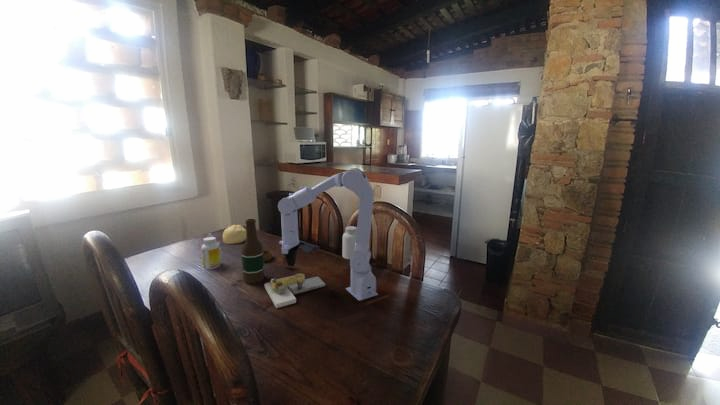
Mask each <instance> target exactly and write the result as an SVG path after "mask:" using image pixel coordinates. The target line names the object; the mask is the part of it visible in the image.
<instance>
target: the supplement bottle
mask: <svg viewBox="0 0 720 405" xmlns="http://www.w3.org/2000/svg"><path fill="white" fill-rule="evenodd" d="M206 237H207V236H206ZM206 237H205V238H204V237H203V238H204V239H203V242H204V245H202V247H201V257H202V258H201V259H202V266H203V269H204V270H214V269H216V268H219V267H220V266H221V264H222V262H221V253H220V252H221V251H220V250H219V247H220V244H218V243H216V241H217V238H216V237H215V236H213V237H207V238H206Z"/></svg>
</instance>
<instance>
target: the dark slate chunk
mask: <svg viewBox="0 0 720 405" xmlns="http://www.w3.org/2000/svg"><path fill="white" fill-rule="evenodd" d="M300 244H301V245H302V246H300V247H299V248H302V250H301V251H303V250H304V251H303V252H304V253H307V254H310V253H314V252H315V251H316V250H315V249H318V250H319V249H321V247H320V246H318V245H315V244H312V243H309V242H306V241H303V240H301V239H299V244H298V245H300ZM314 250H315V251H314Z"/></svg>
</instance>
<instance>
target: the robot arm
mask: <svg viewBox="0 0 720 405" xmlns="http://www.w3.org/2000/svg"><path fill="white" fill-rule="evenodd" d="M364 172H365V171H363V170H362V169H360V168H357V167H353V168H350V169H347V170H345V171H341V172H339V173H336V174H333V175H331V176H329V177H328V178H326V179H324V180H323V181H321V182H319V183H317V184H316V185H314V186H313V187H312V186H308V185H306V186H304V185H303V186H301V187H299V190H297V191H295V192H291V193H290V192H289V194H288V196H287V197H283V198H282V199H280V200H279V201H278V203H277V208H278V211H279V212H280V218H281V219H280V221H281V223H280V224H281V240H279V241H278V244H279V245H281V254H282V255H284V257H286V260H287V267H295V265H296V260H297V254H298V253H299V250H300V249H299V247H300V245H298V244H299V240H300V239H299V221H298V220H299V218H298V210H299V209H302V208H304V207H306V206H307V205H309V204H311V203H313V202H315V201H316V199H317V196H318V195H321V193H324V192H325V191H328V190H330V189H332V188H334V187H338V188H342V187H344V188H346V189H347V190H349V191H351V192H352V193H354V194H355V195H356V197H358V198H359V205H358V214H357V224H356V227H357V233H356V243H355V248H354V254H353V256H352V258H351V259H349V266H350V286H349V287H346V288H345V290H346V291H347V292H348V293H350V294H351V295H352V296H353V297H354V298H355V299H356V300H357V301H363V300H366V299H369V298H373V297H376V296H379V294H378V292H377V278H376V276H375V275H374V274H373V272H372V266H371V264H370V260H371V257H372V252H371V249H370V238H371V237H370V236H371V228H372V220H373V219H372V218H373V210H374V201H375V191H374V189H373V187H372V185H371V183H370V181H369V179H368V176H367V174H366V173H364Z"/></svg>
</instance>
